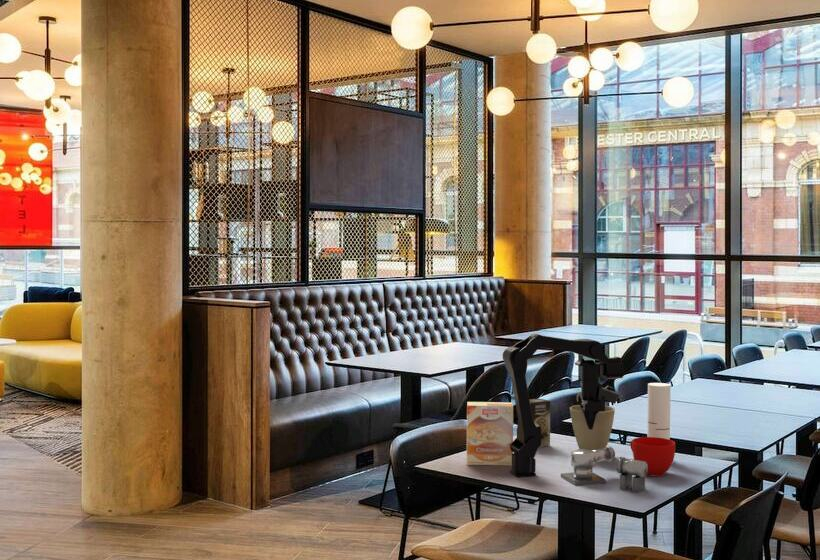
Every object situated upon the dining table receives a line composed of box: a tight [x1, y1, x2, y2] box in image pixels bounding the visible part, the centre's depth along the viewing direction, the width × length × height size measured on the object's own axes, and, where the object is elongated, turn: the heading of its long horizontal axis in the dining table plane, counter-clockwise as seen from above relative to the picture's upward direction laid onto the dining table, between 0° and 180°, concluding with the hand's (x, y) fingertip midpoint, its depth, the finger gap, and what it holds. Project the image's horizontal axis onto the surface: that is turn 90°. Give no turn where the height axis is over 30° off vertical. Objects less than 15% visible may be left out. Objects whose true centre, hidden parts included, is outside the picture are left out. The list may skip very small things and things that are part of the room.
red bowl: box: [629, 436, 676, 477], centre depth 275 cm, size 13×17×10 cm
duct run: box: [616, 456, 648, 494], centre depth 255 cm, size 8×5×9 cm, turn 50°
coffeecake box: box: [466, 401, 514, 467], centre depth 286 cm, size 15×7×20 cm, turn 86°
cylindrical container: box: [646, 382, 671, 440], centre depth 290 cm, size 7×7×25 cm
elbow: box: [570, 445, 616, 468], centre depth 268 cm, size 15×7×4 cm, turn 125°
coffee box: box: [529, 398, 551, 448], centre depth 311 cm, size 9×6×16 cm
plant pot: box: [569, 404, 616, 451], centre depth 297 cm, size 15×15×16 cm
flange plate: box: [560, 467, 607, 486], centre depth 266 cm, size 10×10×4 cm
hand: (590, 428), depth 277 cm, fingers closed
